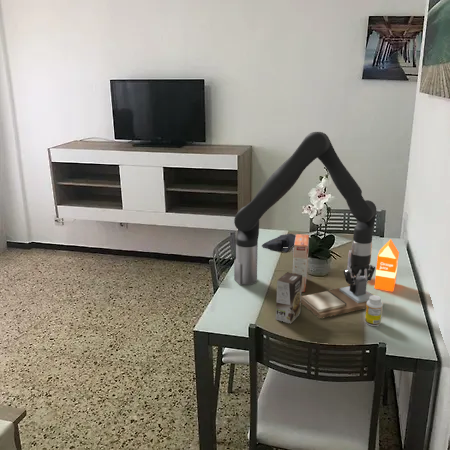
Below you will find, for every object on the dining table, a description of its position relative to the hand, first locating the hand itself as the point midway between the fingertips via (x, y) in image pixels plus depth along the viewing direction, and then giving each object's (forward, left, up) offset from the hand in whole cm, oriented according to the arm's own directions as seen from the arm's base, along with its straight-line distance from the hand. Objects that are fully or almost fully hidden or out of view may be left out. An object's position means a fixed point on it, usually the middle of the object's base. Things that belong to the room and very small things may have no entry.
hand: (357, 291), depth 190 cm
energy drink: (+12, +19, -3) cm, 23 cm away
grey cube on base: (0, 0, -2) cm, 2 cm away
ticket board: (-12, 0, -3) cm, 12 cm away
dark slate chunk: (+3, +67, -4) cm, 67 cm away
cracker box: (-15, +20, -3) cm, 25 cm away
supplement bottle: (-7, -18, -3) cm, 20 cm away
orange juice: (+18, +5, -3) cm, 19 cm away
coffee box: (-33, -2, -3) cm, 33 cm away
